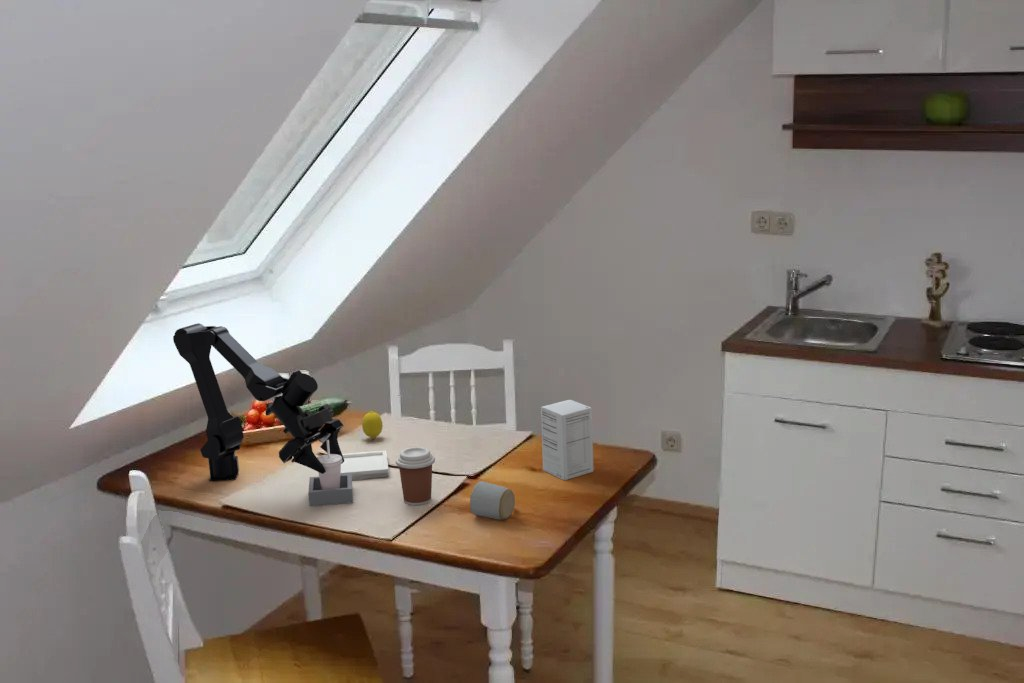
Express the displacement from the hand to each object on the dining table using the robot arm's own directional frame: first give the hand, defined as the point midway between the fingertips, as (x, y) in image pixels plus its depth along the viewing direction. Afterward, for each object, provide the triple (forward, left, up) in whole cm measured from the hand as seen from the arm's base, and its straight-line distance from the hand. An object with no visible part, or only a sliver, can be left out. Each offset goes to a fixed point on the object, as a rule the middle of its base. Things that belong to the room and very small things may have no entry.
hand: (333, 467), depth 248 cm
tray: (+6, +18, -8) cm, 20 cm away
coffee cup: (+19, -6, -8) cm, 21 cm away
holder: (-1, +1, -8) cm, 8 cm away
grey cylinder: (+36, -18, -8) cm, 41 cm away
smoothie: (-1, +1, -8) cm, 8 cm away
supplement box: (+57, +4, -8) cm, 58 cm away
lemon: (+10, +41, -8) cm, 43 cm away
